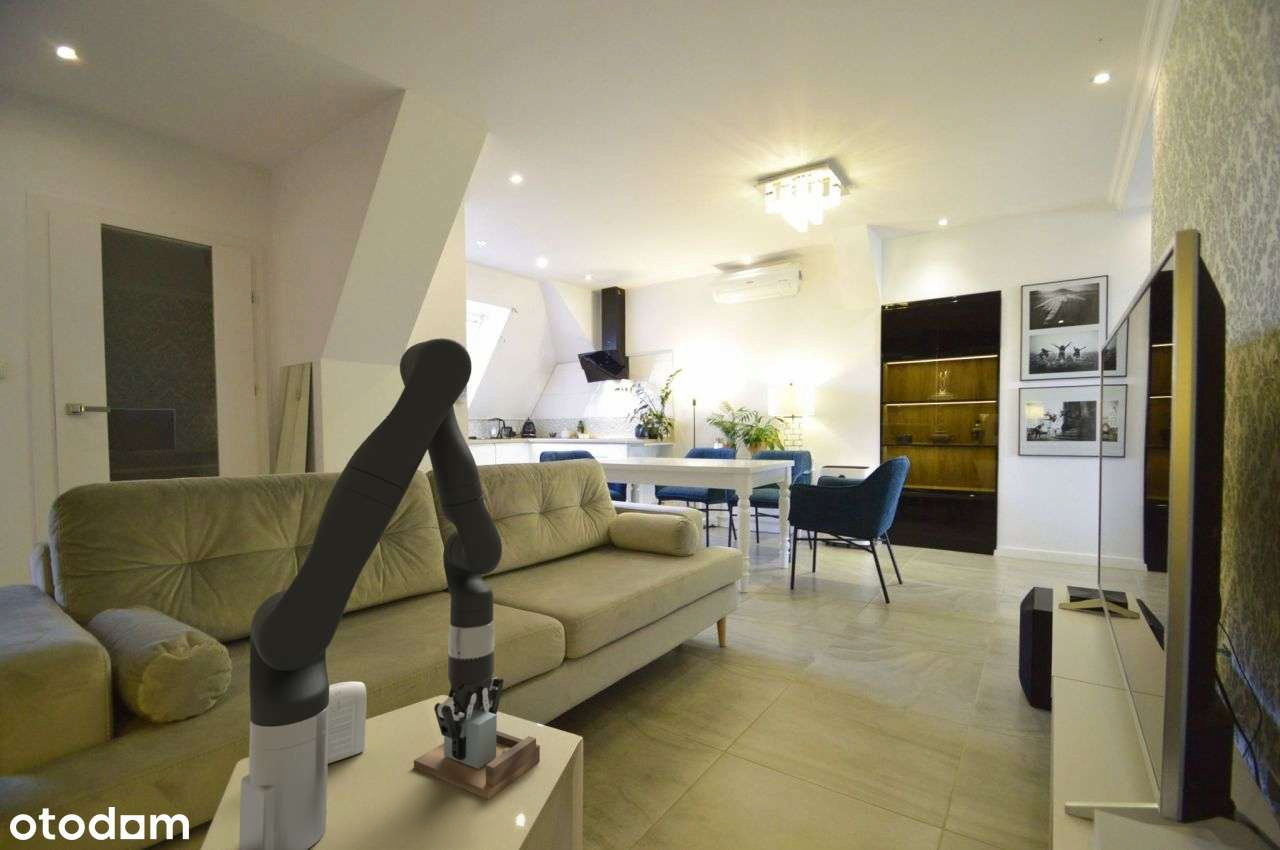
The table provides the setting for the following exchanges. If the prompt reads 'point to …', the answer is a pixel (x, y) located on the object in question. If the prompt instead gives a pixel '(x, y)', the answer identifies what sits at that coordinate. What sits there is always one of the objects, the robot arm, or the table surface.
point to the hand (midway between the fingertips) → (470, 751)
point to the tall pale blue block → (477, 739)
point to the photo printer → (346, 720)
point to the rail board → (492, 776)
